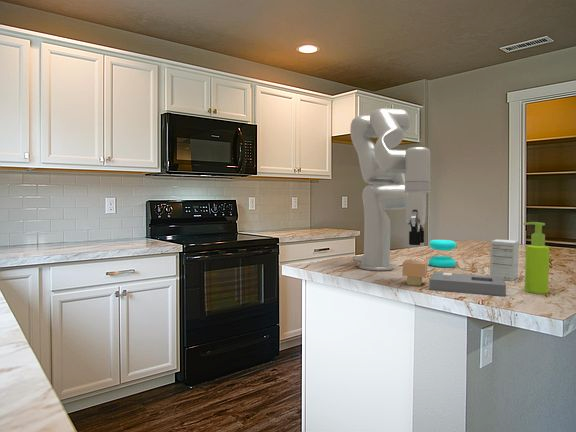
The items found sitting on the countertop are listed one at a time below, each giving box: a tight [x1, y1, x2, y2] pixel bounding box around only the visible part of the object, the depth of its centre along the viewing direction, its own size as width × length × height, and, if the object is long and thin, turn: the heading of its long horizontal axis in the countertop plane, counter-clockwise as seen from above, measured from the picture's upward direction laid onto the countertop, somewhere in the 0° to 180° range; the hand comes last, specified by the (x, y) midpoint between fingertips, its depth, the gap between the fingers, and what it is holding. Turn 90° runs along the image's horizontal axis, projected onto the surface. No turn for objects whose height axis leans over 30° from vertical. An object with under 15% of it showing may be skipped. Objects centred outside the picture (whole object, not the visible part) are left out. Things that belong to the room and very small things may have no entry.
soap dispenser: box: [522, 221, 551, 295], centre depth 128 cm, size 6×7×20 cm
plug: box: [401, 259, 428, 286], centre depth 137 cm, size 7×7×7 cm
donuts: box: [428, 239, 457, 268], centre depth 174 cm, size 10×10×10 cm
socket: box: [428, 271, 507, 297], centre depth 131 cm, size 20×14×4 cm
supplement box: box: [489, 238, 520, 282], centre depth 149 cm, size 7×7×13 cm
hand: (416, 243), depth 136 cm, fingers open, 9 cm apart
